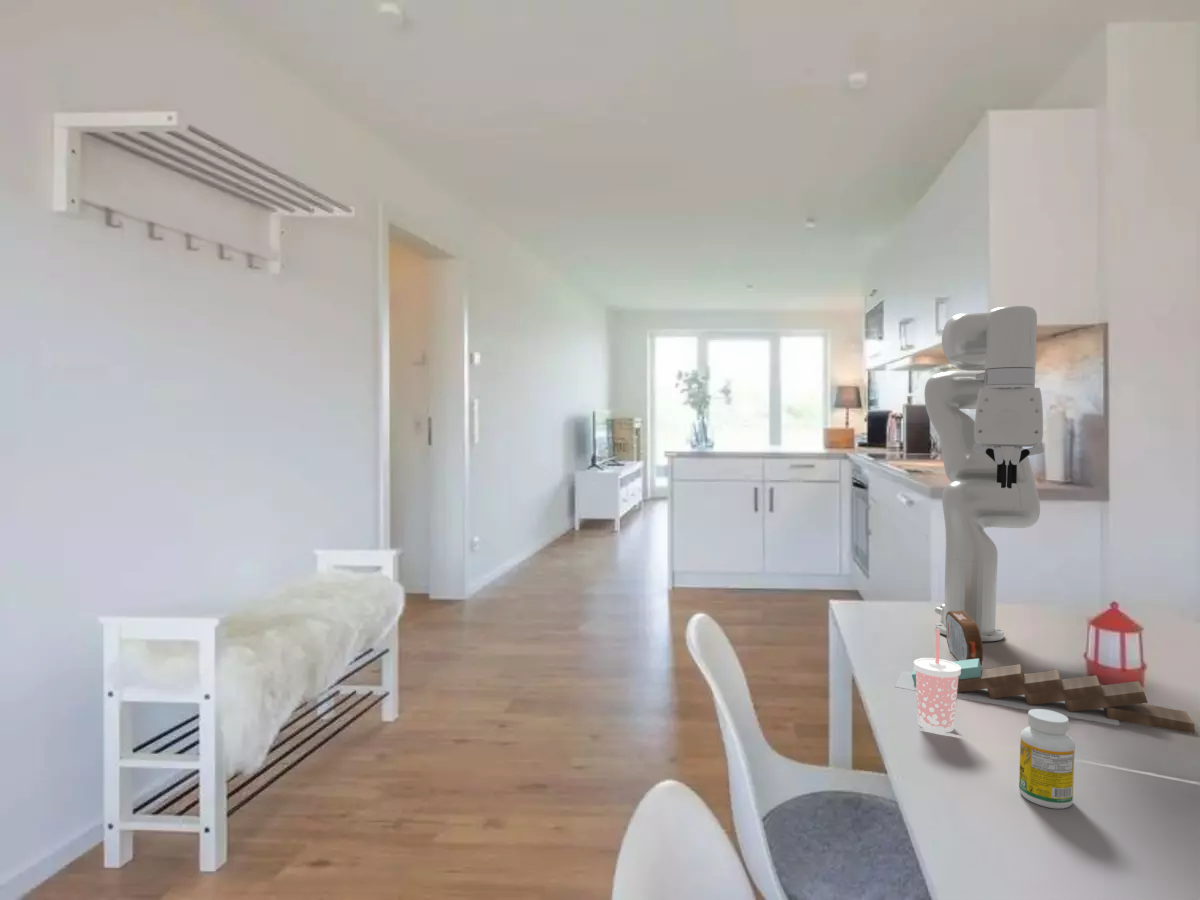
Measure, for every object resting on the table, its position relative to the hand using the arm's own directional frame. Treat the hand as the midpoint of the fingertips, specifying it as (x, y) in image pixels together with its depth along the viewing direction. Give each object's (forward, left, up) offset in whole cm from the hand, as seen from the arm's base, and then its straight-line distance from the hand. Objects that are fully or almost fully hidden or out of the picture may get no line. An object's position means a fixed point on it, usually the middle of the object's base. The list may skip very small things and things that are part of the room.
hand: (1006, 487), depth 128 cm
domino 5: (+16, -3, -31) cm, 35 cm away
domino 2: (+6, -14, -31) cm, 34 cm away
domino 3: (+9, -10, -31) cm, 34 cm away
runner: (+10, -9, -32) cm, 35 cm away
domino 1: (+1, -18, -31) cm, 36 cm away
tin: (-7, -2, -32) cm, 33 cm away
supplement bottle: (+38, -28, -32) cm, 57 cm away
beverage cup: (+18, -27, -32) cm, 46 cm away
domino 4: (+12, -6, -31) cm, 34 cm away
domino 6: (+19, +1, -31) cm, 37 cm away
